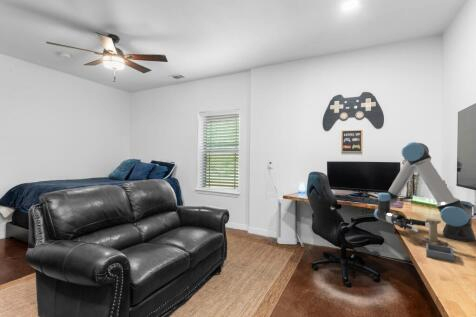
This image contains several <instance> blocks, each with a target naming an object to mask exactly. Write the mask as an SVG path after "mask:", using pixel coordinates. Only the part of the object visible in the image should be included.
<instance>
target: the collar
mask: <svg viewBox="0 0 476 317" xmlns="http://www.w3.org/2000/svg"><path fill="white" fill-rule="evenodd" d="M426 243H428V244H434V245H440V246H445V247H449V246H448V245H449V242H447V241H444V240H441V239H439V238H438V241H437V242H431V241H429V237H423V238H421V237H419V238H418V244H419V245H422V246H424V247H426Z"/></svg>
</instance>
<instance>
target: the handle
mask: <svg viewBox="0 0 476 317" xmlns="http://www.w3.org/2000/svg"><path fill="white" fill-rule="evenodd" d="M441 220H442V219H438V218H431V217H430V218H429V217H428V218H427V217H426V218H425V221H427V222H428V223H429V228H428V238H429V241H431V242H437V241H438V239H439V238H438V237H439V236H438V233H439V232H438V224H441V222H442V221H441Z"/></svg>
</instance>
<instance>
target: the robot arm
mask: <svg viewBox="0 0 476 317" xmlns="http://www.w3.org/2000/svg"><path fill="white" fill-rule="evenodd" d="M401 155H402V157H403V158H404V160H406V161H405V162H404V164H403V166H402V167H401V169H400V171H399V173H398V174H397V175H396V177H395V179H394V180H393V181H392V184H391V186H390V187H389V189H388V191H387V192H379V193H377V208H375V209H374V212H373V216H374V217H375V219H378V220H380V221H383V222H387V223H390V224H391V225H395V226H398V227H399V228H400V229H403V230H409V231H413V232H416V233H418V232H419V227H421V226H422V227H425V228H427V229H429V222H427V221H426V220H420V219H414V218H407V217H405V216H404V215H403V214H400V213H397V212H393V211H391V206H392V205H394V204H396V203H397V202H398V200H399V197H400V196H401V194H402V192H403V191H404V189H405V188H406V186H407V184H408V183H409V181H410V180H411V179H412V177H413V175H414V173H415V172H416V171H417V173H418V174H419V176H420V177H421V179H422V181H423V182H424V184H425V185H426V187H427V188H428V190H429V191H430V194H431V195H432V196H433V199H434V200H435V202H436V208H437V210H438V211H439V213H440V214H439V215H440V218H441V220H442V221H443V222H444V223H445V225H444V227H443V229H442V235H443V236H444V237H445V238H448V239H451V240H455V241H461V242H475V241H476V235H475V232H474V230H473V226H472V225H473V224H472V223H473V222H472V221H473V218H472V217H473V203H472V202H470V201H465V200H460V199H459V198H457V197H454V195H453V194H452V192H451V190H450V189H449V187H448V186H447V184H446V182H445V181H444V180H443V179H442V177H441V176H440V174H439V172H438V171H437V169H436V168H435V166H434V165H433V163H432V162H431V161H432V157H431V155H430V150H429V147H428V146H427V145H426V144H424V143H422V142H414V141H413V142H409V143H407V144H405V145H404V146H403V147H402V149H401ZM418 226H419V227H418Z"/></svg>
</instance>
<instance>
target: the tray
mask: <svg viewBox="0 0 476 317" xmlns="http://www.w3.org/2000/svg"><path fill="white" fill-rule="evenodd" d="M425 252H426V253H425V254H426V255H425V256H426V258H431V259H434V260H435V259H436V260H440V261H444V262H445V261H446V262H450V263H455V262H456V261H455V259H456V256H455V255H456V254H455V252H454V250H453V247H449V246H448V247H445V246H440V245H434V244H428V243H426V246H425Z"/></svg>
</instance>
